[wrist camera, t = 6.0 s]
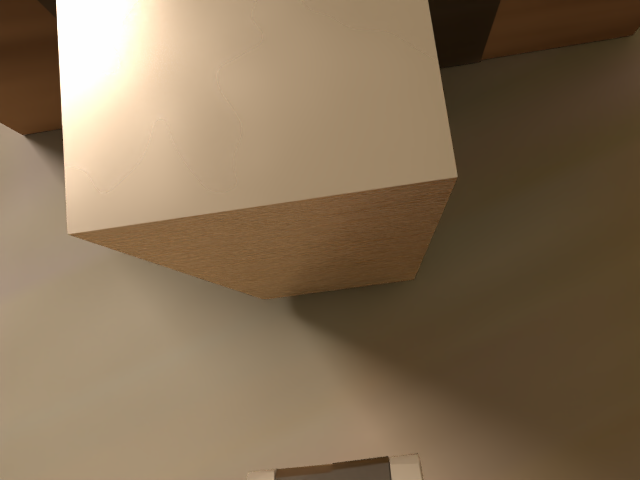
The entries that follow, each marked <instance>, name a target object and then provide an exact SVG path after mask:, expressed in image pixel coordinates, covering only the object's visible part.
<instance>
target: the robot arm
mask: <svg viewBox="0 0 640 480" xmlns="http://www.w3.org/2000/svg"><path fill="white" fill-rule="evenodd" d="M389 460H390V462H389ZM246 480H424V479H423V473H422V467H421V461H420V458H419V455H418V453H417V454H409V455H401V456H393V457H388V456H385V457H377V458H369V459H361V460H353V461H345V462H337V463H333V464H325V465H315V466H305V467H295V468H285V469H271V470H262V471H253V472H248V475H247V478H246Z"/></svg>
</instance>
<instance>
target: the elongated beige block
mask: <svg viewBox="0 0 640 480" xmlns="http://www.w3.org/2000/svg"><path fill="white" fill-rule="evenodd" d="M56 1H57V22H58V43H59V64H60V85H61V106H62V127H63V148H64V169H65V190H66V211H67V232H68V235H71V236H74V237H77V238H80V239H83V240H86V241H89V242H92V243H95V244H98V245H101V246H104V247H107V248H110V249H113V250H116V251H119V252H122V253H125V254H128V255H131V256H134V257H137V258H140V259H143V260H146V261H149V262H152V263H155V264H158V265H161V266H164V267H167V268H170V269H173V270H176V271H179V272H182V273H185V274H188V275H191V276H194V277H197V278H200V279H203V280H206V281H209V282H212V283H215V284H218V285H221V286H224V287H227V288H230V289H233V290H236V291H240V292H243V293H246V294H249V295H252V296H255V297H258V298H261V299H264V300H265V299H272V298H280V297H288V296H295V295H303V294H310V293H318V292H325V291H333V290H340V289H348V288H355V287H363V286H370V285H378V284H385V283H393V282H400V281H408V280H414V278H415V276H416V274H417V271H418V269H419V267H420V264H421V262H422V260H423V257H424V255H425V253H426V250H427V248H428V246H429V243H430V241H431V239H432V236H433V234H434V232H435V229H436V227H437V225H438V222H439V220H440V218H441V215H442V213H443V211H444V208H445V206H446V204H447V201H448V199H449V197H450V194H451V192H452V189H453V187H454V185H455V182H456V180H457V178H458V175H457V169H456V163H455V157H454V151H453V145H452V139H451V134H450V128H449V122H448V116H447V110H446V104H445V98H444V92H443V86H442V80H441V75H440V69H439V63H438V57H437V51H436V45H435V39H434V33H433V27H432V21H431V16H430V10H429V4H428V0H56Z"/></svg>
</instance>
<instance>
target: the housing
mask: <svg viewBox="0 0 640 480" xmlns="http://www.w3.org/2000/svg"><path fill="white" fill-rule="evenodd" d="M428 4H429V10H430V16H431V21H432V27H433V33H434V39H435V45H436V51H437V57H438V63H439V68H445V67H452V66H458V65H464V64H470V63H476V62H480V61H481V60H484V59H490V58H496V57H502V56H509V55H515V54H521V53H527V52H533V51H539V50H545V49H551V48H557V47H564V46H570V45H576V44H582V43H588V42H594V41H600V40H606V39H612V38H619V37H625V36H631V35H633V34H634V33H635V32H636V30H637V29H638V28H639V27H640V0H428ZM0 123H2V124H4V125H6V126H7V127H9V128H11V129H13V130H15V131H16V132H18V133H20V134H22V135H26V134H32V133H38V132H44V131H50V130H56V129H62V128H63V127H62V106H61V85H60V64H59V43H58V22H57V1H56V0H0Z"/></svg>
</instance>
